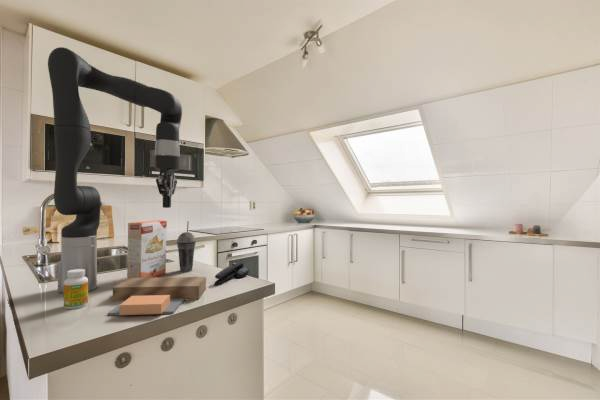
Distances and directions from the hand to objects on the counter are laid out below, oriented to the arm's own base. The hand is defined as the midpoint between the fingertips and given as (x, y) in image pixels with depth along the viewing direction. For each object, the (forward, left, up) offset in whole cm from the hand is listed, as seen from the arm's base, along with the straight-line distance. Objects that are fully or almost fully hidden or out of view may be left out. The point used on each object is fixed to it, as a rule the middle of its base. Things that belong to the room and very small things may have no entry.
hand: (166, 207), depth 100 cm
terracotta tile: (+2, -21, -25) cm, 33 cm away
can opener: (+20, +9, -27) cm, 35 cm away
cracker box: (-11, +12, -27) cm, 31 cm away
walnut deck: (+1, -8, -27) cm, 28 cm away
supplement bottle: (-19, -16, -27) cm, 36 cm away
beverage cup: (0, +22, -27) cm, 35 cm away
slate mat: (+1, -18, -27) cm, 32 cm away
